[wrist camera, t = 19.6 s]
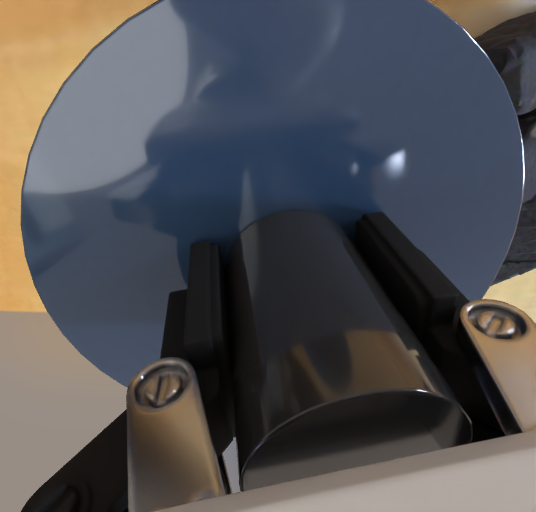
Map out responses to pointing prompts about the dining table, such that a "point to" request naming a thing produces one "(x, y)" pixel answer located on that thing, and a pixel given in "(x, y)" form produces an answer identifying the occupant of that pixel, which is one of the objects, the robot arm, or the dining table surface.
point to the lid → (278, 208)
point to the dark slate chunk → (530, 122)
